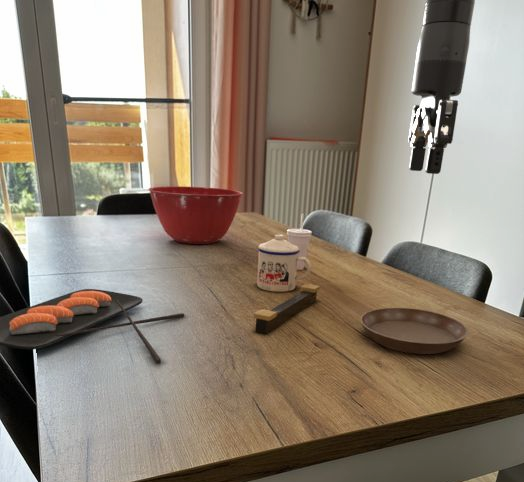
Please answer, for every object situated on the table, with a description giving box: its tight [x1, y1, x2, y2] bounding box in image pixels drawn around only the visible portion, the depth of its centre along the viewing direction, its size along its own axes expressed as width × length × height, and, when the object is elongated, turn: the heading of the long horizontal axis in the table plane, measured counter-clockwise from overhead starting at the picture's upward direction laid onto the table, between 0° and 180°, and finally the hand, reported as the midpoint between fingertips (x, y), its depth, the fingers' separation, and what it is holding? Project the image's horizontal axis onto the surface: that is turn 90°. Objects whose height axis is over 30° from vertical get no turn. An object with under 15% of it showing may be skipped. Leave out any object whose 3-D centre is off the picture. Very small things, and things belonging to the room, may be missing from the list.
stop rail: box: [253, 283, 321, 335], centre depth 97 cm, size 3×24×3 cm, turn 154°
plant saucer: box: [360, 307, 469, 355], centre depth 88 cm, size 18×18×3 cm
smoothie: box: [286, 212, 313, 271], centre depth 132 cm, size 6×6×14 cm
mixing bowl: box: [147, 185, 243, 245], centre depth 160 cm, size 28×28×15 cm
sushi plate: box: [0, 288, 185, 364], centre depth 84 cm, size 29×30×4 cm
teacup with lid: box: [256, 234, 312, 293], centre depth 113 cm, size 12×9×12 cm
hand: (423, 172), depth 85 cm, fingers open, 8 cm apart
